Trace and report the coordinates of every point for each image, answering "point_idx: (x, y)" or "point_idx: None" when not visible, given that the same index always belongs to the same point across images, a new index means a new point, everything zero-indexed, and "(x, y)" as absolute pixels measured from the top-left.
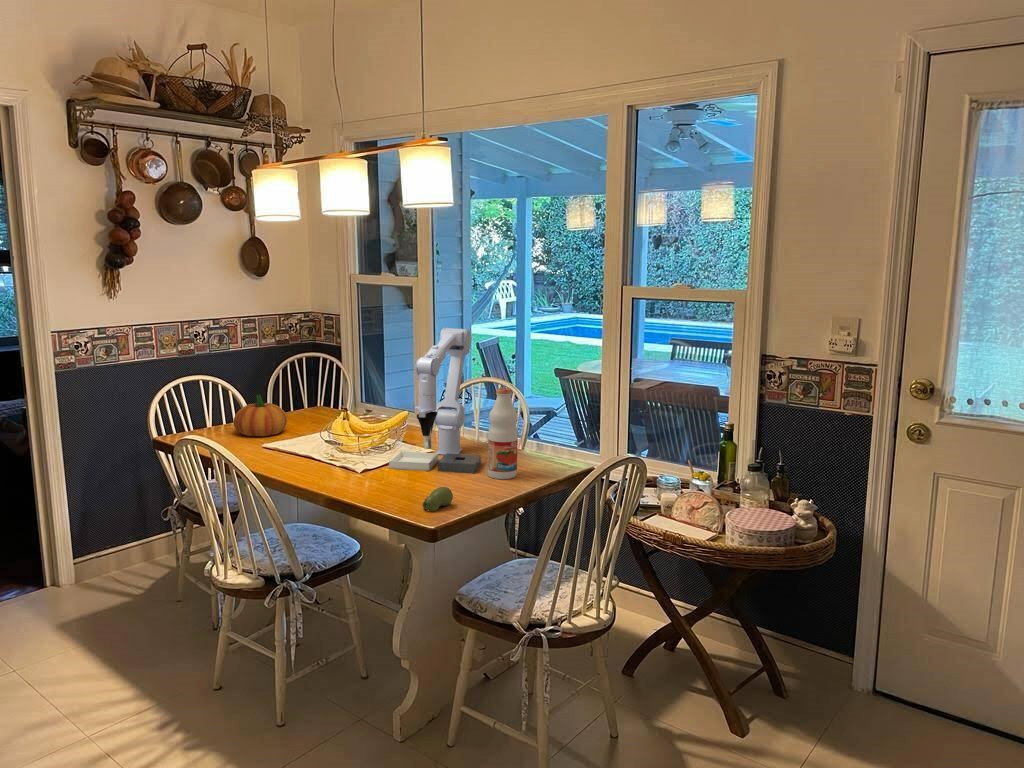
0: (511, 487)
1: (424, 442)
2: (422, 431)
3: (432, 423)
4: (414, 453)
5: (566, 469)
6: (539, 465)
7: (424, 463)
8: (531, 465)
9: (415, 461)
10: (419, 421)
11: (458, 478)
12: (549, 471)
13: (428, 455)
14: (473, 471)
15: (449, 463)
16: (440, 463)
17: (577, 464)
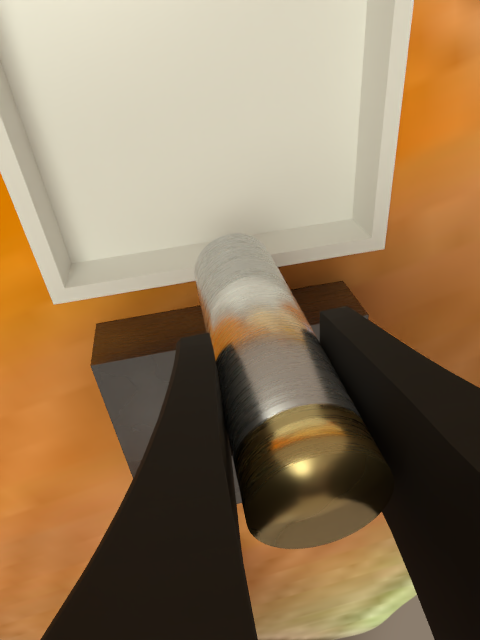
0: (24, 616)
1: (210, 284)
2: (171, 388)
3: (396, 532)
4: (388, 5)
5: (319, 619)
6: (352, 570)
7: (40, 270)
8: (348, 557)
9: (248, 71)
10: (71, 601)
11: (17, 460)
12: (283, 606)
13: (369, 163)
14: None
15: (114, 422)
16: (96, 373)
17: (382, 615)
